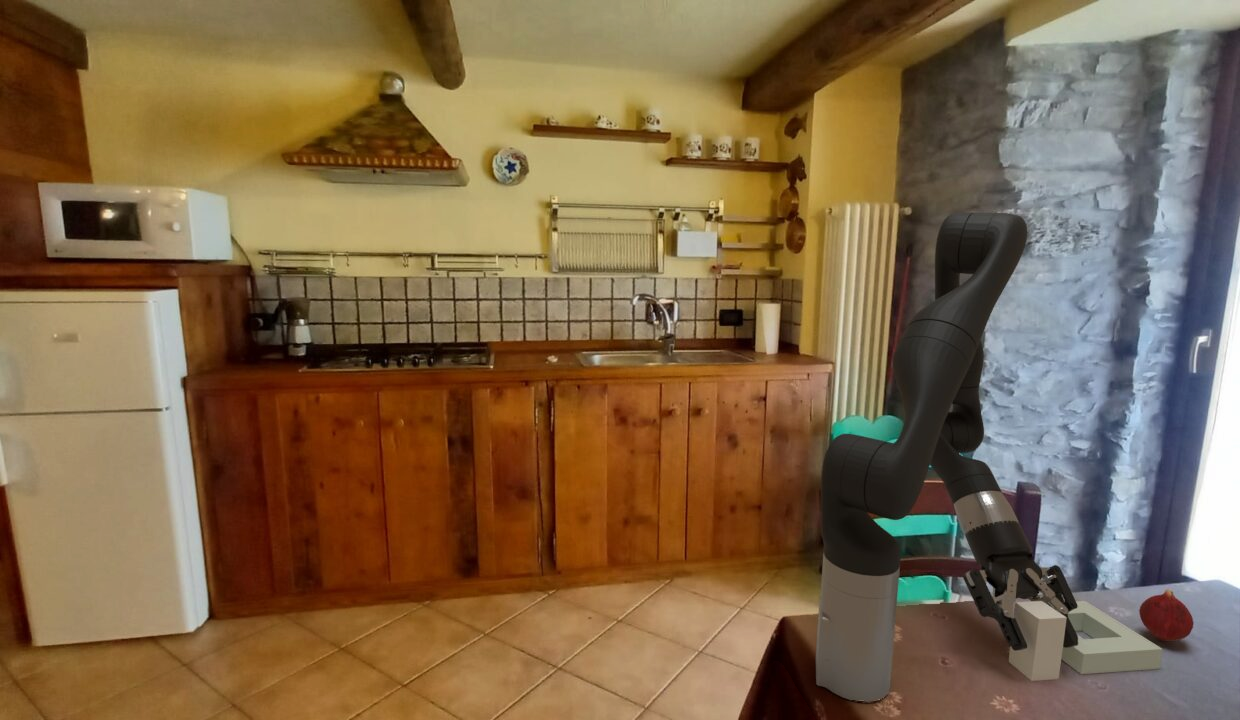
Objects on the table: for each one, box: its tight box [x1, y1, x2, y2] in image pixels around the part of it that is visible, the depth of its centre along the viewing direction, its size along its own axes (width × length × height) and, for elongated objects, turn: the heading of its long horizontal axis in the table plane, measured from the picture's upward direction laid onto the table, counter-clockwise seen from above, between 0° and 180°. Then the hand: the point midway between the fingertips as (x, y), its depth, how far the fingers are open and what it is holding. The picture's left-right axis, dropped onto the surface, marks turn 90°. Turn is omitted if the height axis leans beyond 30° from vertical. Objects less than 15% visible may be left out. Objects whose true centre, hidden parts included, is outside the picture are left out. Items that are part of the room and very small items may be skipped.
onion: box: [1138, 588, 1195, 642], centre depth 86 cm, size 6×6×8 cm
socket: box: [1013, 600, 1164, 675], centre depth 85 cm, size 12×12×3 cm
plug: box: [1008, 601, 1067, 682], centre depth 79 cm, size 4×4×9 cm
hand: (1046, 647), depth 77 cm, fingers open, 7 cm apart
